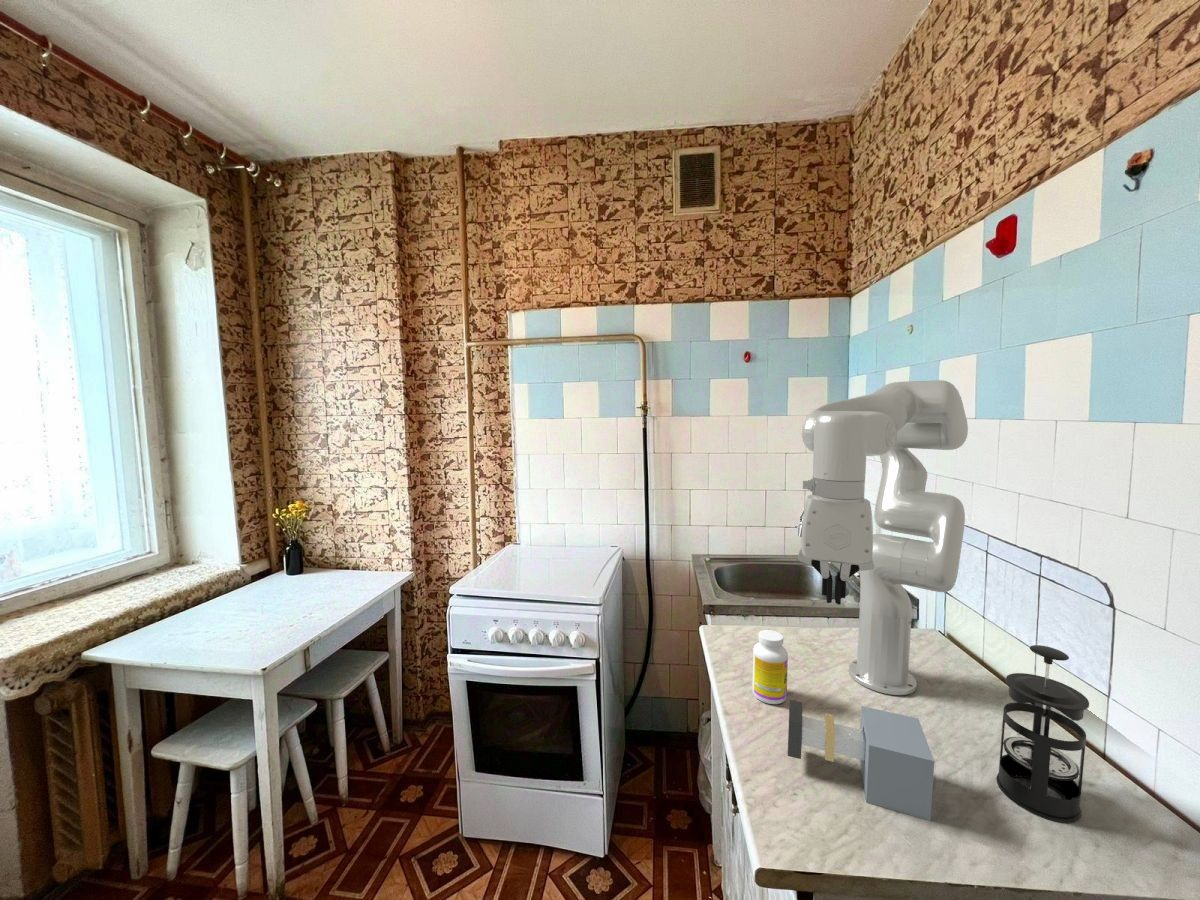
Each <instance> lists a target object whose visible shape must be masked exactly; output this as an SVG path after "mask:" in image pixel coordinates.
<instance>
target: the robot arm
mask: <svg viewBox="0 0 1200 900" xmlns="http://www.w3.org/2000/svg"><path fill="white" fill-rule="evenodd" d="M965 411H966V410H965V407H964V403H963V400H962V397H961V394H960V392H959V390H958V389H957V388H956V386H955V385H954V384H953V383H951V382H949V381H947V380H944V379H943V380H942V379H941V380H940V379H939V380H938V379H937V380H935V379H934V380H910V381H909V380H907V381H895V382H891V383H888V384H885V385H884V386H881V387H880V388H879V389H877V390H875V391H873V392H872V393H870V394H865V395H861V396H855V397H852V398H849V399H848V398H847V399H843V400H838V401H834V402H829V403H825V404H824V405H821V406H819V407H817V408H816V409H814V410H812V411H811V412H810V413H809V414H808V415H807V417H806V418H805V420H804V421H803V425H802V428H801V437H802V438H801V439H802V441H803V442H802V443H803V444H804V446H805V447H806V448H807V449H808V450H809V451H811V452H813V458H812V459H813V460H812V478H810V480H808V479H807V480H802V489H803V490H807V491H809V492H811V494H810V495H807V498H806V501H805V504H804V510H803V515H802V525H801V526H802V527H801V537H800V538H801V540H800V541H801V542H800V545H801V546H800V549H799V552H798V554H797V560H798V561H799V562H801V563H804V564H806V565H809V566H812V567H813V569H815V570H816V572H817V573H818V574H819V575H820V576H821V577H822V578H821V595H822V596H824V597H825V599H826V604H831V603H832V602H833V600H832V599H833V583H834V602H835V604H836V605H840V606H841V600H842V599H846V591H847V590H846V589H847V585H846V584H847V581H848V580H849V578H851V577H852V576H853V575H855V574H856V573H859V581H860V582H859V583H860V584H859V585H860V587H859V588H860V591H859V592H860V594H859V614H858V615H859V617H858V639H857V658H856V659H854V660H852V661H851V662H850V663H849V664H848V672H849V675H850V676H851V677H852V679H854V680H855V681H856V682H857V683H859V684H860V685H861V686H863V687H865V688H867V689H870V690H872V691H874V692H878V693H882V694H885V695H891V696H907V695H911V694H913V693H914V692H915V691H917V687H918V686H917V685H918V684H917V680H916V678H915V677H914V676H913V674H911V673H910V672H909V667H910V666H909V665H910V651H911V635H912V615H913V605H912V601H911V599H910V596H909V595H908V592H907V591H906V590H905V588H904V587H903V586H909V587H913V588H916V589H922V590H926V591H931V592H936V593H948V592H949V591H951V590H953V588H954V587H955V585H956V582H957V579H958V574H959V569H960V568H959V567H960V561H961V555H962V554H961V553H962V546H963V545H962V544H963V539H964V532H965V523H966V519H965V518H966V514H965V513H966V512H965V508H964V505H963V503H962V501H961V500H960V499H959V498H958V497H956V496H955V495H950V494H947V493H939V492H938V493H937V492H931V491H930V492H929V491H926V487H927V480H928V471H927V469H926V467H925V466H924V464H923V463H922V461H920V460H919V459H918V458H917V457H916V456H915V455H914V454H913V453H912V452H911V450H909V449H919V450H920V449H921V450H940V451H942V450H943V451H951V450H952V451H953V450H957V449H960V448H961V447H962V446H963V445H964V444H965V443H966V441H967V438H968V433H969V426H968V419H967V415H966V412H965ZM867 457H879V458H880V462H881V470H882V471H881V478H880V482H879V487H878V492H877V496H876V497H877V498H876V502H875V506H874V516H873V513H872V505H871V501H870V500H869V499H866V498H865V493H866V474H867V473H866V470H867V469H866V468H867ZM873 518H874V522H875V523H876V525H877V526H878V527H879V528H881V529H882V530H885V531H889V532H892V533H893V532H894V533H898V534H904V535H909V536H910V535H911V536H917V537H920V538H921V537H923V538H928V539H931V540H932V542H931V541H926V540H920V539H913V538H910V537H903V536H896V535H892V534H883V533H874V525H873V523H874V522H873ZM829 563H837V564H839V569H838V571H837V572H836V575H835V577H834V578H835V579H834V580H833V576H832V574H831V573H832V572H831V571H830V568H829V567H830V566H829ZM833 581H834V582H833Z"/></svg>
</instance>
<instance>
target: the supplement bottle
mask: <svg viewBox="0 0 1200 900" xmlns="http://www.w3.org/2000/svg"><path fill="white" fill-rule="evenodd" d="M758 641H759V642H757V643H756V644H754V646H753V650H752V651H753V652H752V684H751V685H752V687H751V688H752V689H751V691H752V694H753V696H754V697H755V699H758V701H761V702H763V703H764V704H770V705H779V704H782V703H784V702H785V701H786V699H787V696H788V695H787V694H788V692H787V691H788V668H789V667H788V661H789V658H788V657H789V654H788V651H787V649H786V648H785V647H784V646H783V644H784V636H783V634H781V632H778V631H777V630H776V631H775V630H770V629H764V630H760V631H759V632H758Z"/></svg>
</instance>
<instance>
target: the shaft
mask: <svg viewBox="0 0 1200 900" xmlns="http://www.w3.org/2000/svg"><path fill="white" fill-rule="evenodd" d="M788 707H789V708H788V709H789V711H788V732H787V733H788V737H787V756H788V757H791V758H794V759H799V760H802V746H807V747H809V748H810V747H811V748H812V749H813V748H814V749H817V750H821V751H824V758H825V761H828V762H832V763H834V762H835V761H834V760H835V754H837V755H840V756H845V757H849V758H852V759H855V760H856V759H857V760H859V759H860V760H863V761H865V749H866V736H865V731H864V730H860V729H858V728H855V727H851V726H846V725H842V724H838V723H835V720H834V719H835V718H834V714H831V713H827V712H824V713H825V714H824V720H821V719H817V718H814V717H813V718H812V717H808V716H803V702H802V701H797V700H794V699H789V706H788Z"/></svg>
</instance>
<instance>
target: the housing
mask: <svg viewBox="0 0 1200 900" xmlns="http://www.w3.org/2000/svg"><path fill="white" fill-rule="evenodd" d="M860 707H861V709H860V729H859V730H864V731H865V736H866V749H865V761H863V760H860V759H858V760H859V765H860V771H861V772H860V773H861V779H862V785H863V790H864V791H863V792H864V797H865V802H866V803H868V804H871V805H875V806H878V807H881V808H885V809H889V810H892V811H894V812H898V813H902V814H906V815H909V816H913V817H915V818H916V817H917V818H920V819H923V820H926V821H930V822H931V818H932V804H933V802H932V801H933V787H934V771H935V759H934V757H933V754H932V751H931V749H930V746H929V743H928V741H927V738H926V736H925V732H924V730H923V728H922V727H923V726H922V725H921V722H920V720H919V717H913V716H908V715H904V714H900V713H894V712H891V711H887V710H881V709H877V708H872V707H868V706H863V705H861V706H860Z"/></svg>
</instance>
